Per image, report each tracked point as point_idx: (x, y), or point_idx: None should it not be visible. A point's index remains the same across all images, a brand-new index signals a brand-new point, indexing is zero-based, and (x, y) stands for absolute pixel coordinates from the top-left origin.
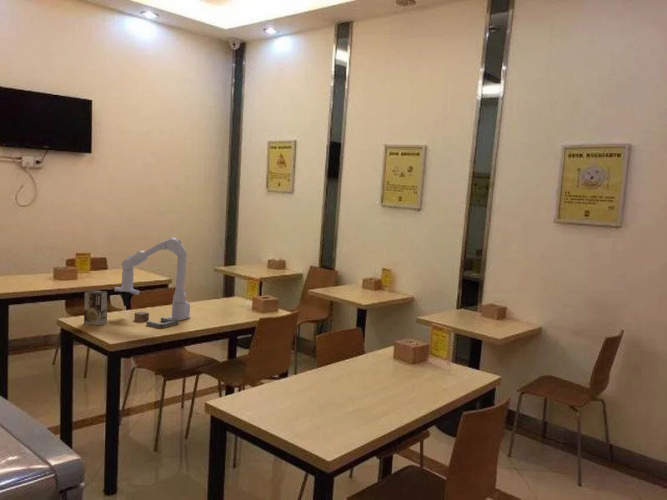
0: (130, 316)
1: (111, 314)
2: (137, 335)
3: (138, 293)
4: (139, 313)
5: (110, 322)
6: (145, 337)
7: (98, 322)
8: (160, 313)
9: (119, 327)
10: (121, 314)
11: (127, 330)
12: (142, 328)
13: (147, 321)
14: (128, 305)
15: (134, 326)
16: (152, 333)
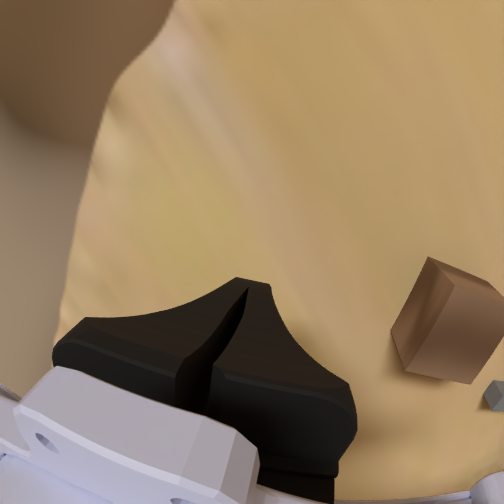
0: (305, 228)
1: (124, 236)
2: (449, 491)
3: (498, 501)
4: (449, 368)
5: None
6: None
7: None
8: (474, 11)
9: (356, 470)
10: (188, 194)
11: (405, 480)
12: (466, 439)
13: (496, 410)
14: (271, 290)
15: (426, 436)
16: (500, 458)
